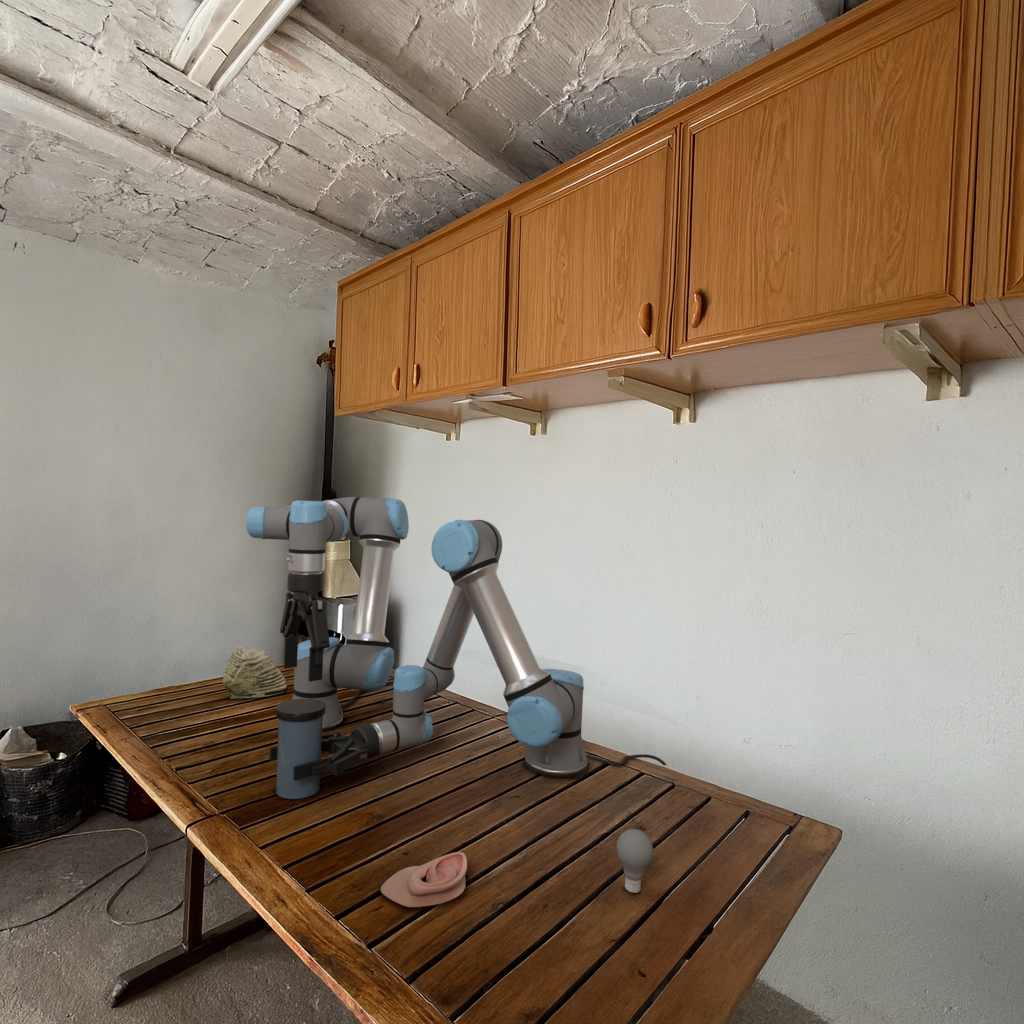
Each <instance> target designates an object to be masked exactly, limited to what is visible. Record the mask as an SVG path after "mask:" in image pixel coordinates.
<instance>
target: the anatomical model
mask: <svg viewBox="0 0 1024 1024" xmlns="http://www.w3.org/2000/svg"><path fill="white" fill-rule="evenodd" d="M467 870H468V858H467V856H466V853H464V852H462V851H457V852H456V851H455V852H450V853H448V854H444V855H441V856H439V857H436V858H434V859H432V860H430V861H428V862H426V863H424V864H421V865H411V866H408V867H405V868H402V869H400V870H399V871H396V872H395V873H394V874H392V875H391V876H390V877H389V878H388V879H387V880H386V881H385V882H383V884H382V885H381V886H380V893H381V894H382V895H383V896H384V897H386V898H388V899H389V900H391V901H392V902H394V903H396V904H398V905H400V906H403V907H407V908H422V907H430V906H435V905H440V904H443V903H446V902H449V901H452V900H454V899H456V898H458V897H459V896H460V895H461V894H463V892H464V891H465V889H466V882H467V880H466V874H467Z"/></svg>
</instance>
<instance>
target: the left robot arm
mask: <svg viewBox="0 0 1024 1024" xmlns="http://www.w3.org/2000/svg"><path fill="white" fill-rule="evenodd" d="M409 527H410V525H409V514H408V511H407V507H406V505H405V503H404V501H402V500H401V499H397V498H390V497H366V496H365V497H364V496H363V497H360V496H347V497H341V498H333V499H325V500H321V501H320V500H294V501H292V503H291V504H290V505H285V506H266V505H263V506H252V507H251V508H250V509H249V511H248V512H247V514H246V518H245V528H246V532H247V534H248V535H249V536H250V537H251V538H253V539H262V540H279V541H280V540H281V541H282V540H283V541H288V542H289V543H288V557H287V558H286V562H287V563H288V565H287V570H288V571H289V573H288V574H287V581H286V582H287V583H286V588H287V591H288V592H286V594H285V604H284V608H283V609H284V610H283V614H282V619H281V623H280V628H279V633H280V634H282V637H283V638H284V650H283V669H292V668H293V669H294V670H293V671H294V672H293V695H292V696H293V697H292V699H291V700H293V699H317V700H321V701H323V702H324V703H325V704H326V710H325V714H324V715H323V718H322V732H325V731H329V730H332V729H335V728H337V727H339V726H340V725H342V723H343V722H344V714H343V709H344V708H346V707H348V706H350V705H351V704H352V703H353V702H354V701H356V699H357V698H358V697H359V695H360V694H361V693H363V692H366V691H380V690H382V689H383V688H384V687H385V686H386V685H393V683H394V680H390V677H391V675H392V672H393V668H394V663H395V657H394V656H395V652H394V649H393V648H391V647H389V644H390V641H389V639H388V638H387V637H386V636H385V630H386V621H387V613H388V605H389V596H390V587H391V579H392V571H393V570H392V569H393V564H394V563H393V562H394V554H395V551H396V550H397V549H398V548H400V546H401V540H402V541H403V540H406V539H407V537H408V534H409ZM345 536H347V537H356V538H359V539H358V543H359V544H360V545H361V546H362V549H363V550H362V559H361V566H360V575H359V582H358V590H357V599H356V604H355V605H356V606H355V607H356V608H355V614H354V622H353V629H352V633H351V634H350V635H348V636H347V637H346V641H345V644H341V641H340V639H339V638H338V637H334V636H329V628H328V622H327V613H326V608H327V607H326V603H327V602H326V600H325V599H319V597H318V593H319V592H322V591H324V589H325V574H324V573H323V572H325V570H326V543H335V542H337V541H339V540H342V539H343V538H344V537H345ZM302 621H304V622H305V625H306V629H307V633H308V639H307V640H304V641H302V642H299V636H300V634H299V629H300V626H301V623H302ZM389 680H390V681H389ZM338 689H350V690H358V691H357V692H356V693H355V695H354V696H353V697H352V698H351V699H349V700H348V701H347V702H346V703H344V704H341V702H340V699H339V695H338ZM342 708H343V709H342Z"/></svg>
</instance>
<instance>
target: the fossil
mask: <svg viewBox="0 0 1024 1024" xmlns="http://www.w3.org/2000/svg"><path fill="white" fill-rule="evenodd" d="M222 676H223V677H222V685H223V687H224V688H225V690H226V691H228V693H229V698H230V699H250V698H264V697H271V696H275V695H281V694H284V693H285V691H286V689H287V687H288V686H287V680H286V678H285V676H284V674H283V673H282V672H281V669H279V668H278V667H277V665H276V663H275V662H274V660H273V659H272V658H271V657H270V656H269V655H268V654H267V653H266V652H265V650H264V649H263V648H260V647H258V648H251V647H247V646H246V647H245V646H238V647H237V648H236V649H235V650H233V651H232V653H231V656H230V657H229V659H228V660H227V663H226V666H225V668H224V671H223V675H222Z"/></svg>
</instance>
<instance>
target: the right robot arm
mask: <svg viewBox="0 0 1024 1024" xmlns="http://www.w3.org/2000/svg"><path fill="white" fill-rule="evenodd" d="M502 538H503V537H502V535H501V533H500V531H499V529H497V527H496V526H495V525H494V524H493V523H491V522H490V521H488V520H484V519H472V520H471V519H469V520H468V519H466V520H465V519H456V520H452V521H449V522H447V523H445V524H443V525H441V526H440V527H439V528H438V529H437V530H436V532H435V534H434V535H433V539H432V542H431V547H430V549H431V556H432V558H433V559H432V560H433V561H434V563H435V564H436V565H437V566H438V568H439V569H441V570H443V571H444V572H446V573H448V575H449V576H450V579H451V581H452V584H453V586H452V589H451V592H450V595H449V598H448V600H447V603H446V605H445V607H444V610H443V614H442V616H441V619H440V621H439V624H438V626H437V629H436V632H435V634H434V636H433V640H432V643H431V645H430V648H429V651H428V653H427V656H426V659H425V661H424V664H423V666H420V665H417V664H415V665H414V664H407V665H401V666H399V667H397V668H396V669H395V671H394V676H393V677H394V678H393V681H394V683H392V687H393V688H392V689H393V690H392V693H393V694H392V718H390V719H389V718H388V719H384V720H380V721H375V722H372V723H370V724H364V725H360V726H357V727H354V728H353V729H352V732H351V733H350V735H341V731H333V732H330V733H322V743H321V753H322V752H326V753H328V754H329V755H330V754H333V755H331V756H326V757H325V758H321V759H320V760H316V761H312V762H309V763H305V764H301V765H297V766H294V770H293V780H294V781H296V780H299V779H303V778H306V777H310V776H314V775H317V774H320V775H321V774H324V773H326V774H330V773H332V776H338V775H340V774H342V773H345V772H346V771H347V770H349V769H351V768H353V767H355V766H356V765H358V764H362V763H364V762H367V761H368V760H370V759H373V758H376V757H380V756H381V757H384V756H385V755H387V754H390V753H394V752H398V751H401V750H405V749H409V748H416V747H418V746H420V745H422V744H425V743H427V742H429V741H430V740H431V739H432V737H433V734H434V725H433V720H432V718H431V716H430V714H429V713H428V712H425V711H424V710H425V701H426V700H427V699H429V698H431V697H433V696H435V695H437V694H438V693H441V692H443V691H445V690H446V689H448V688H449V687H450V686H451V685H452V684H453V683H454V680H455V676H456V674H455V668H454V667H455V664H456V662H457V659H458V656H459V654H460V652H461V648H462V647H463V644H464V641H465V638H466V636H467V633H468V630H469V628H470V625H471V624H472V621H473V618H474V617H475V619H476V621H477V623H478V625H479V628H480V630H481V632H482V635H483V637H484V640H485V641H486V644H487V646H488V648H489V650H490V653H491V655H492V657H493V659H494V661H495V664H496V666H497V668H498V670H499V672H500V675H501V678H502V679H503V681H504V684H505V688H504V691H503V693H502V695H503V699H504V700H505V703H506V704H507V707H508V709H507V715H506V724H507V727H508V728H507V729H508V731H509V732H510V734H511V735H512V737H513V738H514V739H515V740H516V741H518V742H519V743H520V744H522V745H525V746H527V748H526V751H525V755H524V764H525V767H526V768H527V769H529V770H530V771H532V772H533V773H535V774H538V775H541V776H545V777H550V778H572V777H577V776H579V775H582V774H583V773H585V772H586V771H587V770H588V760H592V761H596V762H599V763H603V764H607V765H613V766H623V765H625V764H626V763H627V760H629V759H638V758H639V759H641V758H647V759H652V760H655V761H657V762H658V763H660V764H661V765H663V766H667V763H666V762H665V761H664V760H663V759H661V758H660V757H658V756H655V755H653V754H645V753H643V754H632V755H626V756H624V757H623V759H622V761H612V760H607V759H603V758H600V757H595V756H592V755H587V751H586V748H585V745H584V741H583V740H584V739H583V737H582V726H583V721H582V720H583V706H584V705H583V704H584V703H583V702H584V689H585V685H584V677H583V675H582V674H580V673H578V672H575V671H571V670H565V669H559V668H557V669H556V668H541V667H540V665H539V663H538V661H537V659H536V657H535V655H534V652H533V650H532V648H531V646H530V644H529V641H528V639H527V637H526V635H525V633H524V631H523V628H522V625H521V624H520V621H519V620H518V618H517V615H516V613H515V611H514V608H513V606H512V605H511V602H510V600H509V598H508V595H507V593H506V591H505V589H504V586H503V585H502V582H501V580H500V578H499V575H498V574H497V573H498V569H499V566H500V563H499V562H500V559H501V555H502V551H503V539H502ZM277 748H278V745H276V746H272V747H269V761H270V762H273V761H277Z"/></svg>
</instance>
